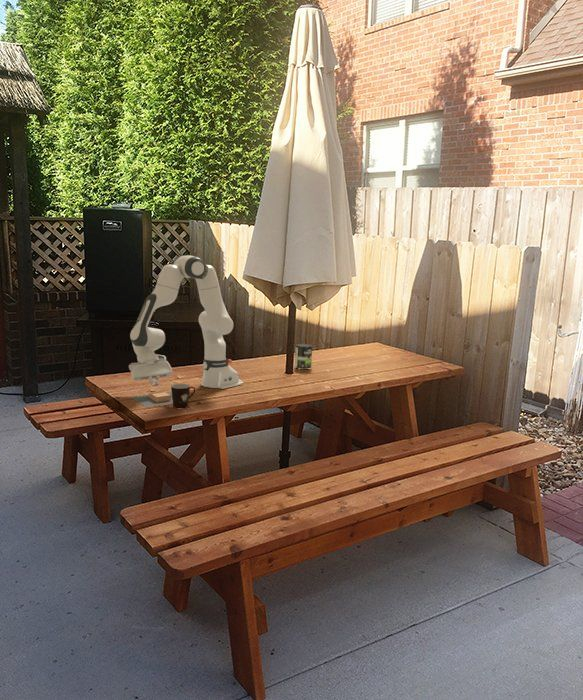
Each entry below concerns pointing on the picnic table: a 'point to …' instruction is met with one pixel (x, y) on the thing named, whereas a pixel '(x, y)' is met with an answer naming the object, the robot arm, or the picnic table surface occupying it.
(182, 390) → the coffee mug
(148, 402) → the mat
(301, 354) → the coffee can
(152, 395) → the light orange block
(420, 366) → the picnic table surface
